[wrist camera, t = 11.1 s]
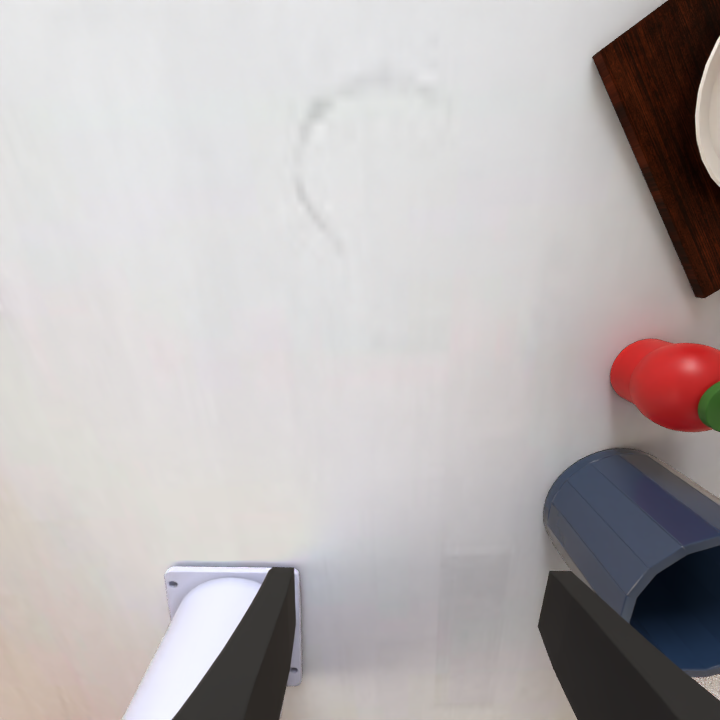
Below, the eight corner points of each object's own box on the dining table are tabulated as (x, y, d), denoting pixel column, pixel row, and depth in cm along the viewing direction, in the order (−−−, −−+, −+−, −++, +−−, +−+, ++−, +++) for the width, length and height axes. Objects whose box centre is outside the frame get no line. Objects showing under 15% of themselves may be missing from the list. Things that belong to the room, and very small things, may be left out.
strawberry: (670, 406, 19) (787, 463, 14) (596, 405, 19) (685, 461, 14) (691, 333, 18) (826, 365, 13) (612, 331, 18) (716, 362, 13)
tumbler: (656, 560, 22) (773, 678, 16) (533, 558, 22) (602, 677, 16) (691, 449, 20) (840, 536, 14) (554, 446, 20) (644, 533, 14)
